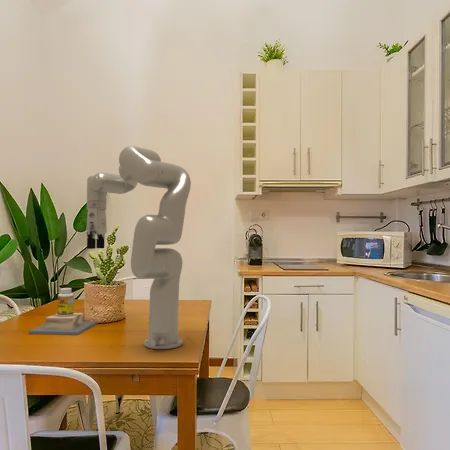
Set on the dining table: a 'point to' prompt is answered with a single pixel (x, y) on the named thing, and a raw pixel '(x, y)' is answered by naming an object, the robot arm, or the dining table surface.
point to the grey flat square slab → (73, 331)
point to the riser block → (64, 321)
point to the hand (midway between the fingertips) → (95, 248)
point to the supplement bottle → (65, 302)
